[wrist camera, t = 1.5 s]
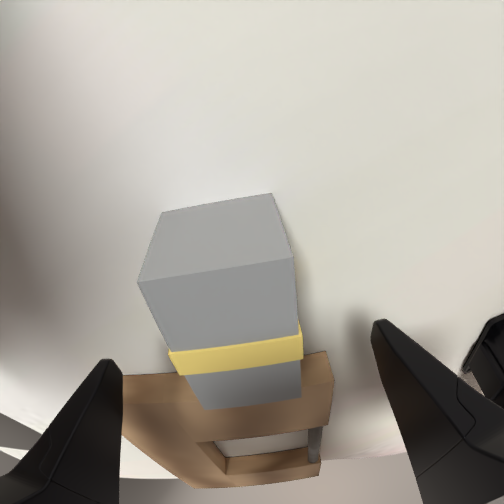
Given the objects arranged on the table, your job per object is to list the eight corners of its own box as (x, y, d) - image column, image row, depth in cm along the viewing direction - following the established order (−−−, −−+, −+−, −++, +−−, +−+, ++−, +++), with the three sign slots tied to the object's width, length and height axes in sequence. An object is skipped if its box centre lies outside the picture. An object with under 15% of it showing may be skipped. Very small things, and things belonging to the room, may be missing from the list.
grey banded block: (274, 192, 11) (298, 258, 7) (288, 326, 15) (304, 398, 11) (159, 212, 11) (132, 285, 7) (203, 339, 15) (202, 412, 11)
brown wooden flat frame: (325, 351, 16) (334, 380, 14) (315, 460, 28) (318, 475, 27) (93, 375, 16) (86, 402, 15) (194, 473, 28) (194, 488, 27)
